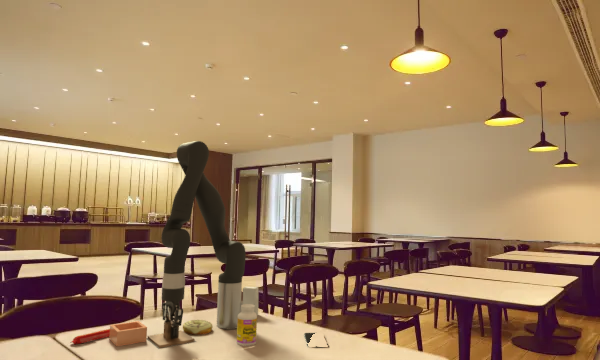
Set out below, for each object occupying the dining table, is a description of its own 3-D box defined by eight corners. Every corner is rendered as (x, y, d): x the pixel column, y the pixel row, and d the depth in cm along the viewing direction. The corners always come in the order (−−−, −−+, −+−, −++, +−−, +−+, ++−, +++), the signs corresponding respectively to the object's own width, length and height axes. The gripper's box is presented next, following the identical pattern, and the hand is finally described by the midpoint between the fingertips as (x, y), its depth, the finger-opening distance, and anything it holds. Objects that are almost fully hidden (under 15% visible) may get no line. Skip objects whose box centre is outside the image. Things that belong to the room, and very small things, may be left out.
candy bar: (115, 333, 145) (115, 325, 145) (120, 335, 142) (121, 327, 143) (68, 345, 132) (69, 335, 132) (74, 347, 129) (74, 338, 130)
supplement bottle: (240, 348, 132) (241, 308, 133) (233, 342, 138) (235, 304, 139) (259, 345, 135) (260, 306, 136) (252, 339, 141) (253, 302, 142)
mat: (181, 333, 146) (181, 332, 146) (196, 342, 136) (196, 341, 136) (145, 339, 138) (145, 338, 138) (158, 349, 128) (158, 348, 128)
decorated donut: (196, 338, 141) (196, 327, 142) (176, 332, 147) (177, 322, 148) (217, 331, 150) (218, 321, 150) (198, 326, 156) (198, 316, 156)
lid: (180, 332, 146) (181, 316, 146) (194, 341, 136) (195, 323, 137) (147, 338, 138) (148, 321, 139) (159, 347, 129) (160, 329, 129)
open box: (137, 335, 143) (138, 320, 143) (146, 342, 135) (147, 327, 136) (109, 339, 137) (110, 325, 137) (116, 347, 129) (117, 331, 130)
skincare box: (258, 314, 176) (259, 286, 177) (255, 317, 172) (256, 288, 173) (245, 313, 177) (246, 285, 178) (241, 316, 173) (242, 287, 174)
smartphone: (307, 346, 134) (303, 332, 149) (307, 349, 134) (303, 335, 149) (329, 346, 134) (323, 332, 149) (329, 349, 134) (323, 335, 149)
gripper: (192, 288, 136) (189, 339, 134) (176, 281, 147) (173, 329, 145) (170, 290, 131) (167, 343, 130) (155, 283, 142) (153, 332, 141)
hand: (171, 335), depth 137 cm, fingers open, 4 cm apart
